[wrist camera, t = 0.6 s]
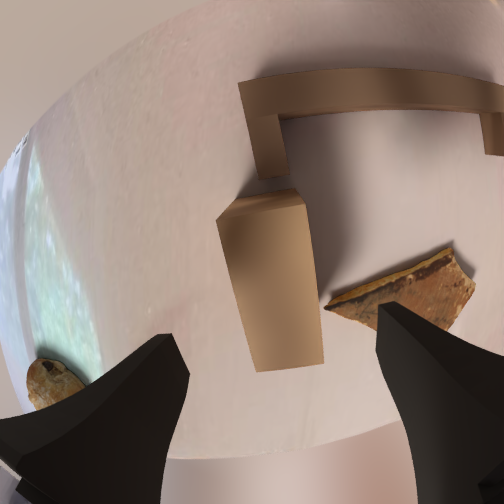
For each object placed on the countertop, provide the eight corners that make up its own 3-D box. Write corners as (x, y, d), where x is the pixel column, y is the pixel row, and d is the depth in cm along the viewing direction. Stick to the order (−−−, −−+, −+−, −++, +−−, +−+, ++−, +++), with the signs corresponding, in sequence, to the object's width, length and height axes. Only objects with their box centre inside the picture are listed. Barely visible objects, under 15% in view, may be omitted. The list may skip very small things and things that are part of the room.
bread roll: (101, 360, 27) (59, 378, 19) (111, 429, 26) (79, 457, 18) (49, 344, 27) (8, 353, 20) (59, 408, 26) (25, 425, 19)
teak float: (294, 187, 15) (305, 203, 10) (312, 308, 18) (324, 363, 13) (235, 199, 16) (215, 220, 11) (261, 315, 18) (256, 372, 13)
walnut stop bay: (485, 90, 11) (505, 86, 8) (496, 154, 12) (518, 157, 10) (243, 94, 13) (237, 82, 11) (261, 176, 15) (258, 179, 13)
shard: (319, 298, 18) (323, 311, 16) (377, 197, 15) (388, 202, 14) (421, 342, 19) (430, 355, 17) (472, 267, 16) (484, 276, 14)
